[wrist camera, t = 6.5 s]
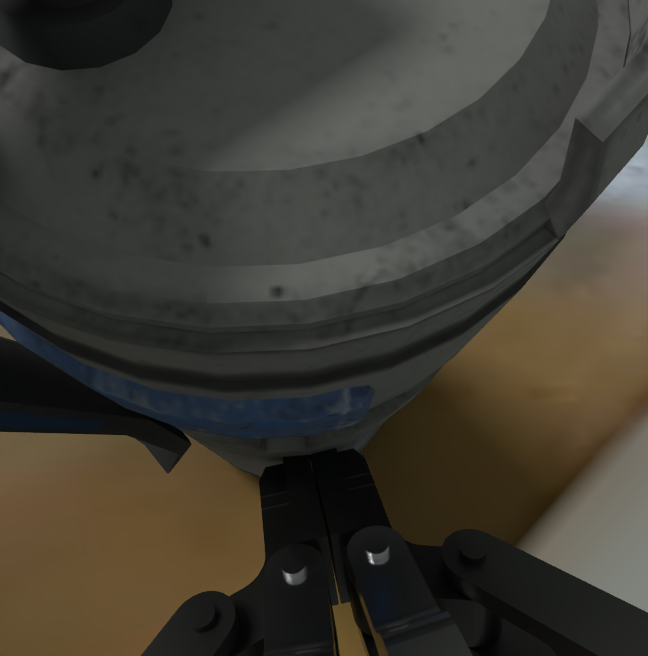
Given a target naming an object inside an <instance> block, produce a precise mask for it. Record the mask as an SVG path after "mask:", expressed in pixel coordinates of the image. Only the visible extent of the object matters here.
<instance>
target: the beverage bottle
mask: <svg viewBox="0 0 648 656" xmlns="http://www.w3.org/2000/svg"><path fill="white" fill-rule="evenodd" d="M647 135H648V0H0V324H1V325H2V326H3V327H4V328H5V329H6V330H7V331H8V332H9V334H10V335H11V336H12V337H13V338H14V339H15V340H16V341H14V340H10V339H7V338H3V337H0V432H33V433H69V434H105V435H128V436H130V437H133V438H136V439H137V440H138V441H140V442H141V443H143V444H144V445H145V446H146V447H147V448H148V450H149V451H150V452H151V453H152V455H153V456H154V457H155V458H156V460H157V461H158V462H159V463H160V465H161V466H162V467H163V468H164V470H165V471H166V472H167V473H169V472H170V471H171V470H172V469H173V467H174V466H175V465H176V464H177V462H178V461H179V460H180V458H181V457H182V456H183V455H184V453H185V452H186V451H187V450H188V448H189V447H190V446H191V443H190V441H189V439H188V438H187V437H186V435H185V434H184V433H186V434H187V435H189V436H190V437H192V438H193V439H195V440H196V441H198V442H199V443H201V444H202V445H204V446H205V447H207V448H208V449H210V450H211V451H213V452H214V453H216V454H217V455H219V456H220V457H221V458H223V459H224V460H226V461H228V462H229V463H231V464H232V465H234V466H236V467H237V468H239V469H240V470H243V471H246V472H248V473H251V474H254V475H256V476H259V477H261V476H262V474H263V471H264V469H265V467H268V466H273V465H278V464H282V463H283V458H282V457H290V456H304V455H309V459H310V458H311V454H313V453H317V452H321V451H325V450H329V449H333V448H336V449H337V452H339V451H344V450H348V449H353V448H354V449H355V450H356V451H357V452H358V453H359V452H361V451H362V450H363V449H364V448H365V447H366V445H367V444H368V443H369V442H370V441H371V440H372V438H373V437H374V436H375V435H376V434H377V433H378V431H379V430H380V428H381V426H382V425H383V423H384V422H385V421H386V420H387V419H389V418H390V417H391V416H392V415H394V414H395V413H396V412H398V411H399V410H400V409H401V408H403V407H404V406H405V405H407V404H408V403H409V402H410V401H412V400H413V399H414V398H415V397H416V396H417V395H418V394H419V393H420V391H421V390H422V389H423V388H424V387H425V386H426V385H427V384H428V383H429V381H430V380H431V379H432V378H433V377H434V376H435V374H436V373H437V372H438V371H439V370H440V368H441V367H442V366H443V365H444V364H445V363H447V362H448V361H449V360H450V359H452V358H453V357H454V356H455V355H456V354H457V353H458V352H459V351H460V350H461V349H462V348H463V347H464V346H465V345H466V344H467V343H468V342H469V341H470V340H471V339H472V338H473V337H474V336H475V335H476V334H477V333H478V332H479V331H480V330H481V329H482V328H483V327H484V326H485V325H486V324H487V323H488V322H489V321H490V320H491V319H492V318H493V317H494V316H495V315H496V314H497V313H498V312H499V311H500V310H501V309H502V308H503V307H504V306H505V305H506V304H507V303H508V302H509V301H510V300H511V299H512V298H513V297H514V295H515V294H516V293H517V292H518V291H519V290H520V289H521V288H522V287H523V286H524V285H525V284H526V282H527V281H528V280H529V279H530V278H531V276H532V275H533V274H534V273H535V272H536V270H537V269H538V268H539V267H540V266H541V264H542V263H543V262H544V261H545V260H546V258H547V257H548V256H549V255H550V254H551V252H552V251H553V250H554V249H555V248H556V246H557V245H558V244H559V243H560V242H561V240H562V239H563V238H564V236H565V234H566V232H567V231H568V230H569V228H570V227H571V226H572V225H573V224H574V223H575V222H576V221H577V220H578V219H579V218H580V217H581V215H582V214H583V213H584V212H585V211H586V210H587V209H588V208H589V207H590V205H591V204H592V203H593V202H594V201H595V200H596V199H597V197H598V196H599V195H600V194H601V193H602V192H603V191H604V189H605V188H606V187H607V186H608V185H609V184H610V182H611V181H612V180H613V179H614V178H615V177H616V176H617V174H618V173H619V172H620V171H621V170H622V169H623V167H624V166H625V165H626V164H627V163H628V162H629V161H630V159H631V158H632V157H633V156H634V155H635V154H636V152H637V151H638V150H639V149H640V148H641V147H642V146H643V144H644V142H645V139H646V137H647ZM183 432H184V433H183ZM310 463H311V460H310ZM311 467H312V466H311ZM312 472H313V471H312Z"/></svg>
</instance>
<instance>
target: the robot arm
mask: <svg viewBox="0 0 648 656" xmlns="http://www.w3.org/2000/svg"><path fill="white" fill-rule="evenodd" d="M282 458H283V463H282V464H278V465H273V466H268V467H265V469H264V471H263V474H262V476H261V478H260V481H259V486H260V496H261V508H262V520H263V531H264V542H265V563H264V566H263V568H262V570H261V572H260V573H259V575H258V576H257V577H256V578H255V580H254V581H253V582H251V583H250V584H249V585H248V586H246V587H245V588H243V589H241V590H240V591H238V592H236V593H234V594H232V595H231V596H229V597H228V596H227V595H225V594H224V593H221V592H217V591H207V592H202V593H199V594H197V595H195V596H193V597H191V598H190V599H188V600H187V601H186V602H184V603H183V604H182V605H181V606H180V607H179V609H178V610H177V611H176V612H175V614H174V615H173V616H172V617H171V619H170V620H169V621H168V622H167V624H166V625H165V626H164V627H163V629H162V630H161V631H160V632H159V634H158V635H157V636H156V637H155V639H154V640H153V641H152V642H151V644H150V645H149V646H148V647H147V649H146V650H145V651H144V652H143V654H142V655H141V656H340V652H339V644H338V637H337V632H336V626H335V620H334V614H333V609H332V606H333V605H337V604H339V603H338V597H337V591H336V585H335V579H334V573H335V578H336V582H337V586H338V591H339V595H340V600H341V604H342V603H346V602H350V603H351V608H352V612H353V616H354V619H355V622H356V624H357V626H358V630H359V634H360V637H361V640H362V643H363V646H364V649H365V652H366V655H367V656H648V613H647V612H645V611H643V610H641V609H639V608H637V607H635V606H633V605H631V604H629V603H627V602H625V601H623V600H621V599H619V598H617V597H615V596H613V595H611V594H609V593H607V592H605V591H603V590H601V589H598V588H597V587H595V586H593V585H591V584H588V583H587V582H585V581H582V580H581V579H579V578H576V577H574V576H572V575H570V574H568V573H566V572H564V571H562V570H560V569H558V568H556V567H554V566H552V565H550V564H548V563H546V562H544V561H542V560H540V559H538V558H536V557H534V556H532V555H530V554H528V553H526V552H524V551H522V550H520V549H518V548H516V547H514V546H512V545H510V544H508V543H506V542H504V541H502V540H500V539H498V538H496V537H494V536H492V535H489V534H487V533H485V532H483V531H479V530H474V529H465V530H459V531H456V532H454V533H452V534H451V535H449V536H448V537H447V538H446V539H445V541H444V543H443V545H442V547H439V546H423V545H416V544H413V543H410V542H407V541H406V540H404V539H403V537H402V536H401V535H400V534H399V533H398V532H397V531H395V530H393V529H392V527H391V525H390V523H389V520H388V517H387V515H386V512H385V509H384V507H383V504H382V502H381V499H380V496H379V494H378V491H377V489H376V486H375V484H374V481H373V478H372V475H371V474H370V470H369V468H368V465H367V462H366V460H365V458H364V457H363V456H362V455H360V454H359V453H358V452H357V451H356V450H355V449H354V448H353V449H348V450H344V451H339V452H337V449H336V448H333V449H329V450H325V451H321V452H317V453H313V454H311V458H310V459H309V455H304V456H290V457H282ZM310 460H311V463H310ZM311 466H312V467H311ZM312 471H313V472H312ZM331 560H332V561H331ZM332 564H333V567H332ZM333 569H334V573H333Z"/></svg>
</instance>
